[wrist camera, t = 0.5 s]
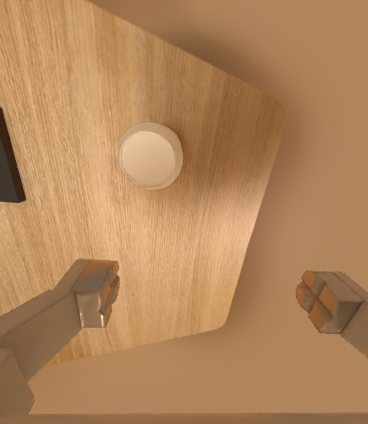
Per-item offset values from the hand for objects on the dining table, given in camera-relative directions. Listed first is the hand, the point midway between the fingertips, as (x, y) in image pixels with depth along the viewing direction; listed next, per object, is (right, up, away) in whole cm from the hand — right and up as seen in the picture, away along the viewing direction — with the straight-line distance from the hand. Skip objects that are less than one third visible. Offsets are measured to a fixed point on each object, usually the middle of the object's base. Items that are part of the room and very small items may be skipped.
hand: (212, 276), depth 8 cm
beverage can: (-5, +12, +19) cm, 23 cm away
